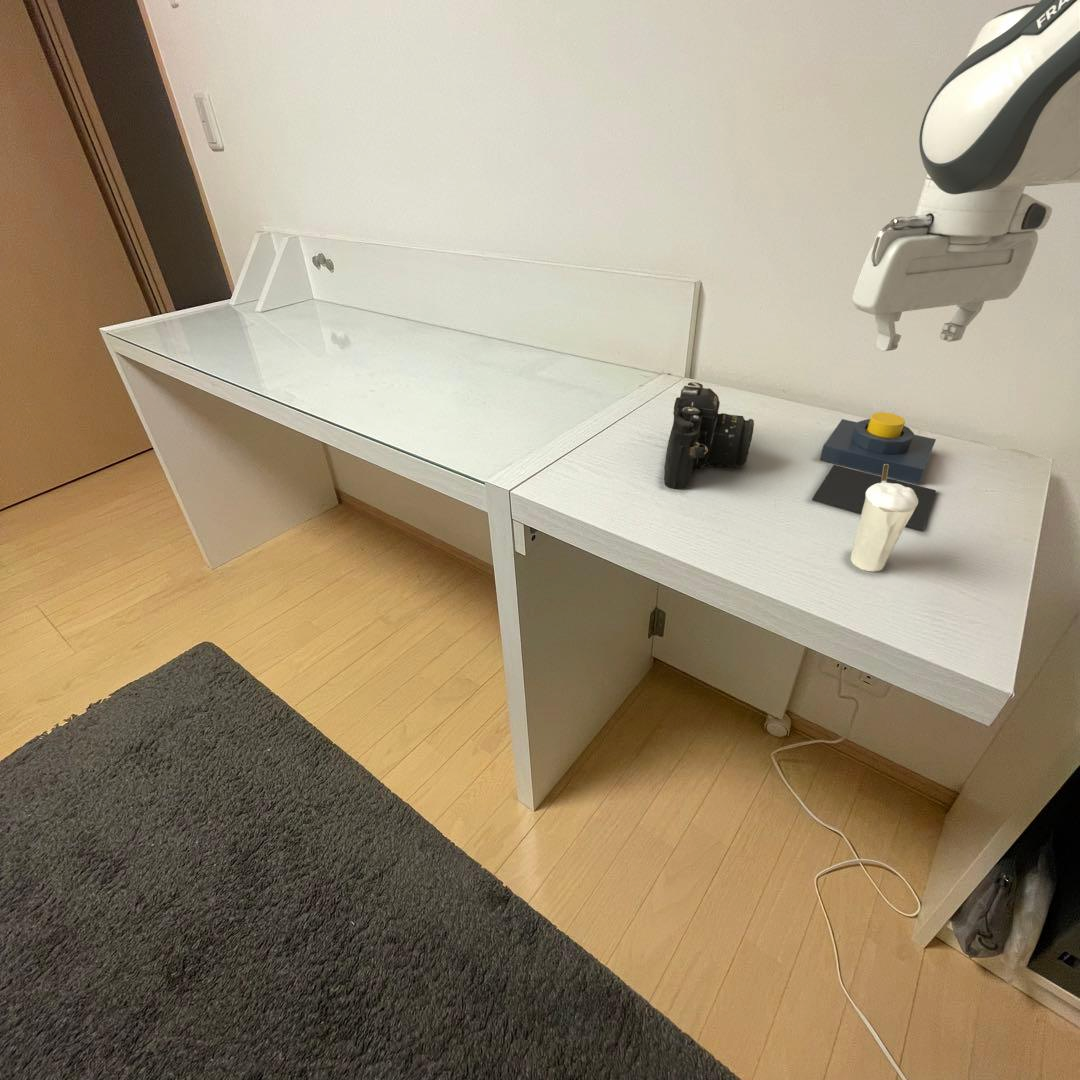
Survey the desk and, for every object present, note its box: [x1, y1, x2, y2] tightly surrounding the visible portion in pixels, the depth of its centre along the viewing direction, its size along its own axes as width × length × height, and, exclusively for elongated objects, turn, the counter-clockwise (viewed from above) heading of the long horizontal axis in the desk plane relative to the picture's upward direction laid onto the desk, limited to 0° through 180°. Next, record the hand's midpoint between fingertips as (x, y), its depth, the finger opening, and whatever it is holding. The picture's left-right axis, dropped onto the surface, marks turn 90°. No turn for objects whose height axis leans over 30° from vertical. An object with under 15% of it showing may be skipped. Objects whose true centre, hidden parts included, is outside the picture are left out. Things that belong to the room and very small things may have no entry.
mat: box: [811, 464, 937, 532], centre depth 74 cm, size 12×10×1 cm
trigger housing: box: [819, 418, 937, 486], centre depth 82 cm, size 12×10×4 cm
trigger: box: [867, 411, 906, 438], centre depth 80 cm, size 4×4×2 cm
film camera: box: [663, 381, 755, 490], centre depth 80 cm, size 18×12×10 cm
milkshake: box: [850, 464, 918, 573], centre depth 61 cm, size 4×5×10 cm
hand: (917, 344), depth 71 cm, fingers open, 8 cm apart
